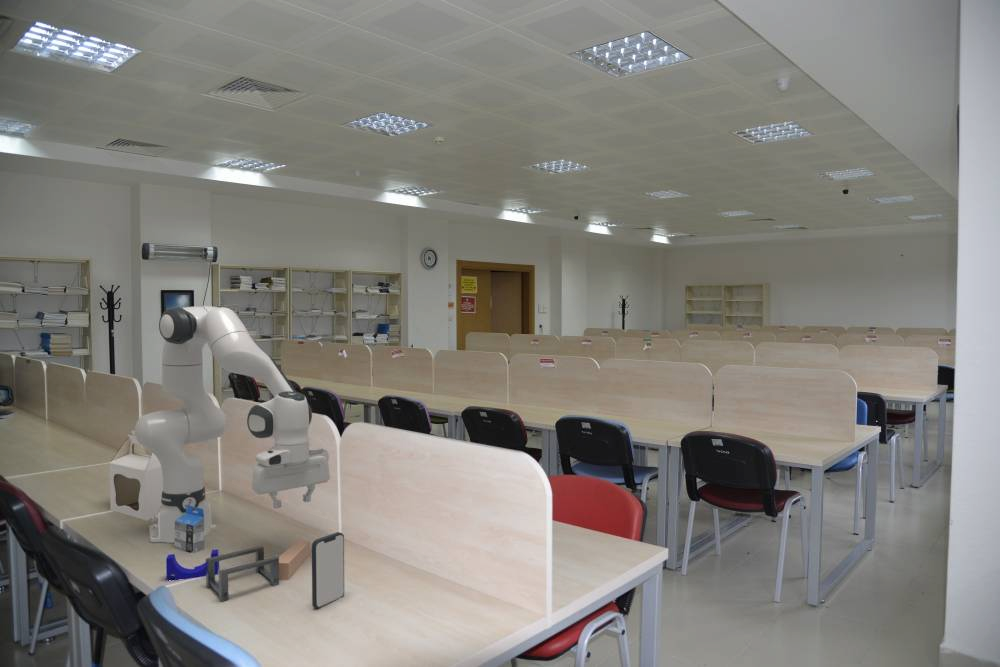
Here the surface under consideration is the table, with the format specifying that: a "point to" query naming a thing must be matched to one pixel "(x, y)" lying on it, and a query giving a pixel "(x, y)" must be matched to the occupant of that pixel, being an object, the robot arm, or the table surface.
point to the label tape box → (190, 530)
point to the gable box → (135, 480)
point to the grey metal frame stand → (240, 569)
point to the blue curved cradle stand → (185, 573)
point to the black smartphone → (327, 569)
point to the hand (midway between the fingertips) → (292, 504)
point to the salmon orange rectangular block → (293, 559)
